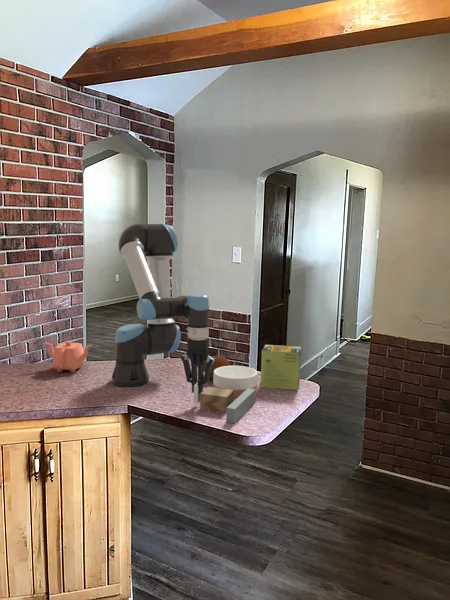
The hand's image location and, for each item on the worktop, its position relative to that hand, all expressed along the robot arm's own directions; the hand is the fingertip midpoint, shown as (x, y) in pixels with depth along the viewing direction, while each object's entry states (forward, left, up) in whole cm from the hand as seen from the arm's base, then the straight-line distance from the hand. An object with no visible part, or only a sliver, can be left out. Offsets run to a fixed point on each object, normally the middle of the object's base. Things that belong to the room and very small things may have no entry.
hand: (197, 401), depth 187 cm
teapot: (-71, +18, -2) cm, 73 cm away
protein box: (+21, +36, -2) cm, 42 cm away
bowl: (+7, +20, -2) cm, 22 cm away
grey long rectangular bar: (+17, +1, -2) cm, 17 cm away
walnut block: (+7, +2, -2) cm, 7 cm away
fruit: (-7, +33, -2) cm, 34 cm away
